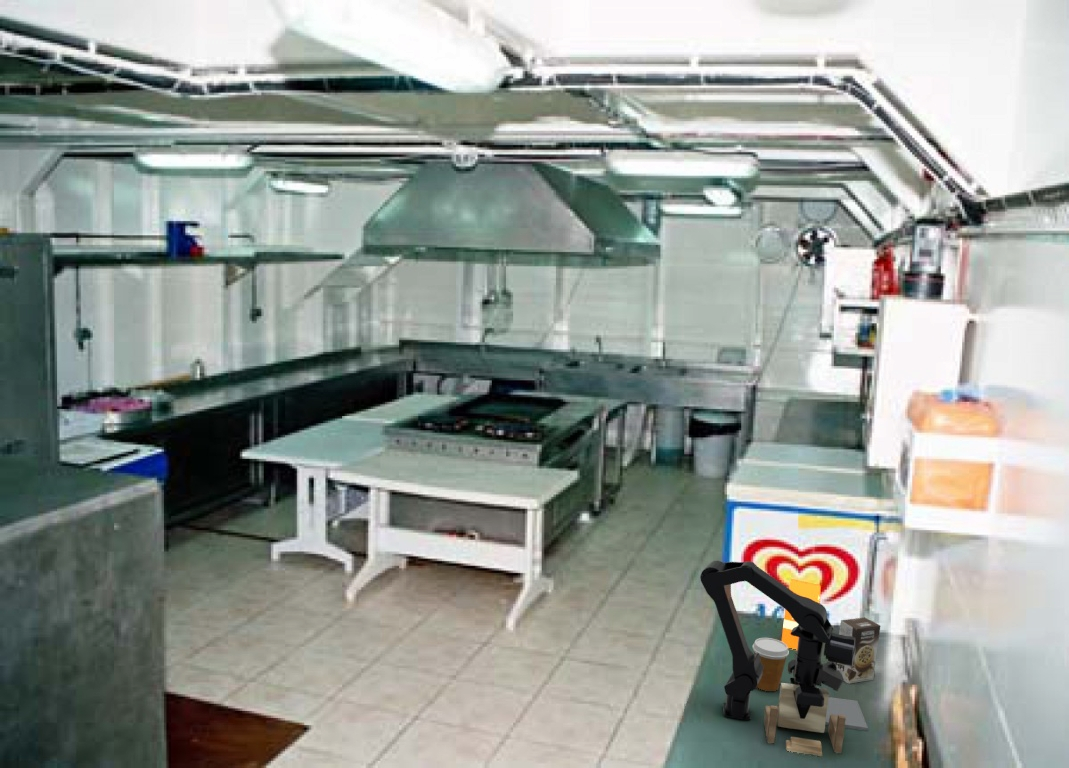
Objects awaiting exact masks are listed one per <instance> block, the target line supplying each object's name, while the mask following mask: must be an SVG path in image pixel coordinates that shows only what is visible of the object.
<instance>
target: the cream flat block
mask: <svg viewBox="0 0 1069 768" xmlns="http://www.w3.org/2000/svg"><path fill="white" fill-rule="evenodd" d="M797 687H799V685H795V684H791V683H788V682H787V683H785V682H780V686H779V695H778V696H779V697H778V706H777V707H778V714H777V723H776V726H777V727H779V728H780V727H781V728H787V729H794V730H799V731H800V730H801V731H808V732H815V733H821V734H824V733H825V729H826V725H825V722H826V714H827V706H828V699H829V697H830V693H829V691H828V688H823V687H819V686H818V687H817V686H816V688H819V689H820V690H821V691H822V693H823V696H824V706H823V707H817V706H810V708H809V711H808V713H807V715H806V717H805V719H801V718H800V715H799V712H798V708H797V704H796V701H795V697H794V693H793V691H795V690H796V688H797Z"/></svg>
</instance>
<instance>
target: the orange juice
mask: <svg viewBox="0 0 1069 768" xmlns="http://www.w3.org/2000/svg"><path fill="white" fill-rule="evenodd" d="M788 588H789V589H790V590H791V591H793V592H794V593H796V594H798V595H800V596H803V597H807V598H810V599H812V600H814V601H816V602H818V603H820V604H821V584H818V583H813V582H808V581H803V580H798V579H794V578H790V581H789V587H788ZM798 625H799V624H798V623H797V622H795V621H794V619H793V618H792V616H791V615H790V614H789V612H788V611H787V610H786V609H785V608H784V618H783V626H782V636H781V641H782V642H784V643H785V644H786V645H787V647H788V649H789V648H792V649H791V650H793V649H796V650H795V651H797V646H798V638H799V637H796V636H792V635H791V634H790V633H791V631H792V629H793V628H794V627H796V626H798Z"/></svg>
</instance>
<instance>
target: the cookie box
mask: <svg viewBox="0 0 1069 768" xmlns="http://www.w3.org/2000/svg"><path fill="white" fill-rule="evenodd" d="M839 623H840V624H839V631H838V632H839V633H838V634H839V635H844V636H852V637H855V648H856V649H855V656H854V662H853V666H848V665H844V664H840V663H836V666H837V671H838V670H839V671H840V673H841V674H842V676H843V679H844V681H843V682H845V683H846V684H850V685H851V684H855V683H861V682H867V681H873V680H874V675H875V669H876V660H877V652H878V646H879V639H880V632H881V625H880V624H879V623H876V622H874V621H872V620H870V619H868V618H866V617H859V618H858V617H857V618H848V619H842V620H840V622H839Z"/></svg>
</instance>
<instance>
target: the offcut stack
mask: <svg viewBox="0 0 1069 768" xmlns="http://www.w3.org/2000/svg"><path fill="white" fill-rule="evenodd" d="M822 747H823V746H822V743H821V741H820V740H814V739H809V738H802V737H796V736H790V740H788V739H787V740H785V748H786V750H787V751H789V752H788V753H793V752H797V753H796V754H799V753H804V754H803V755H805V754H813V755H818V756H822V757H823V751H822V750H823V748H822ZM787 751H786V752H787ZM790 751H791V752H790Z"/></svg>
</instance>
